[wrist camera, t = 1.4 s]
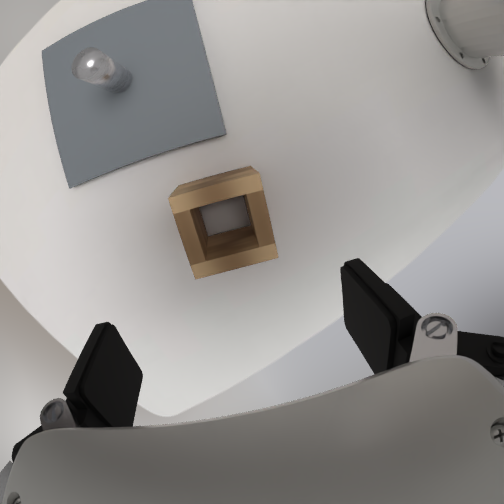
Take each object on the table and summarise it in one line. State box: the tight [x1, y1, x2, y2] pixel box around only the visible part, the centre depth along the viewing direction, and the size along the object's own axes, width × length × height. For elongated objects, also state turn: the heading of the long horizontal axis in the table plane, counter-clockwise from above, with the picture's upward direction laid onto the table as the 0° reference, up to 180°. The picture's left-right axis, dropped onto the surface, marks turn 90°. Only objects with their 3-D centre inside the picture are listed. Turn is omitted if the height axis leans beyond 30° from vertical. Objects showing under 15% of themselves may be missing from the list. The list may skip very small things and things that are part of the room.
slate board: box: [42, 0, 226, 189], centre depth 21 cm, size 16×16×2 cm
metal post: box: [71, 47, 132, 93], centre depth 17 cm, size 2×2×8 cm
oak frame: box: [168, 166, 278, 279], centre depth 25 cm, size 7×7×6 cm
